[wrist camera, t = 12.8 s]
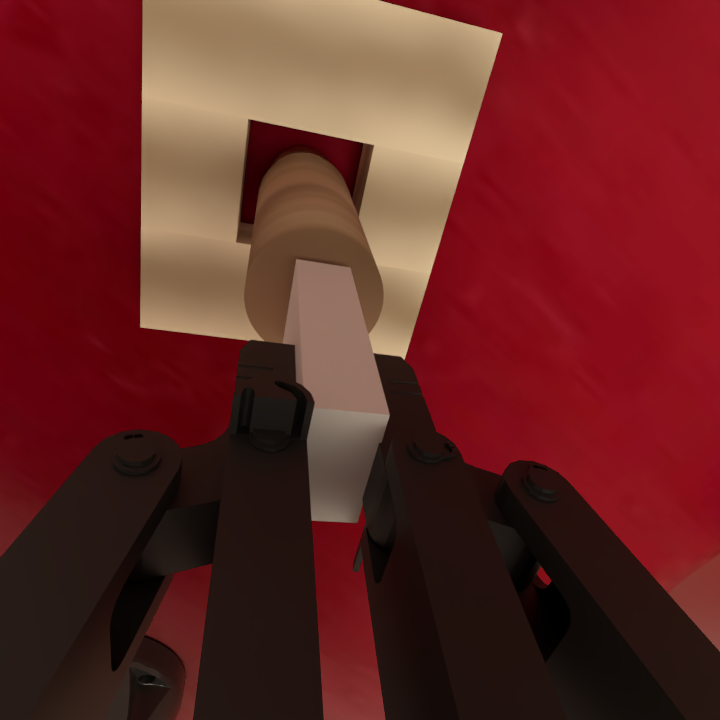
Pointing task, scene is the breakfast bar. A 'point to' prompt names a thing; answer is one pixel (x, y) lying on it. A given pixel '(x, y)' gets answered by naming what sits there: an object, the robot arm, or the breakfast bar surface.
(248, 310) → the peg
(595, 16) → the breakfast bar surface
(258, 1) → the board
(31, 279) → the breakfast bar surface
